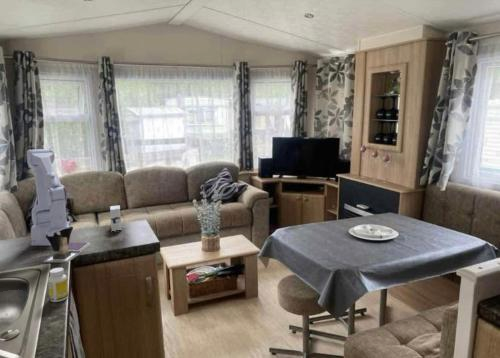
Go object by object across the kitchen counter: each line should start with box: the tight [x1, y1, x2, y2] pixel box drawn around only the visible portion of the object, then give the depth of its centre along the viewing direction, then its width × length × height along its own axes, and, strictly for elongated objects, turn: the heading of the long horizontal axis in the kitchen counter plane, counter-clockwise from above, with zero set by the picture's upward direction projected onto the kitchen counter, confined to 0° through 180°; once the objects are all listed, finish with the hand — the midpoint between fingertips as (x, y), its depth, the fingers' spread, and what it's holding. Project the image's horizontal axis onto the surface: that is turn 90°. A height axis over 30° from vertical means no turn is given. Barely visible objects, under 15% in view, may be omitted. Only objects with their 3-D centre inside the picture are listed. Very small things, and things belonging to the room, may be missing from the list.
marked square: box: [43, 252, 81, 263], centre depth 154 cm, size 10×10×1 cm
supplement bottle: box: [47, 267, 69, 303], centre depth 119 cm, size 5×5×10 cm
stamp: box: [52, 237, 71, 259], centre depth 154 cm, size 5×5×8 cm
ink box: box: [109, 204, 122, 232], centre depth 192 cm, size 8×5×12 cm, turn 21°
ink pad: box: [68, 241, 91, 254], centre depth 165 cm, size 10×10×1 cm
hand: (61, 247), depth 154 cm, fingers open, 7 cm apart
